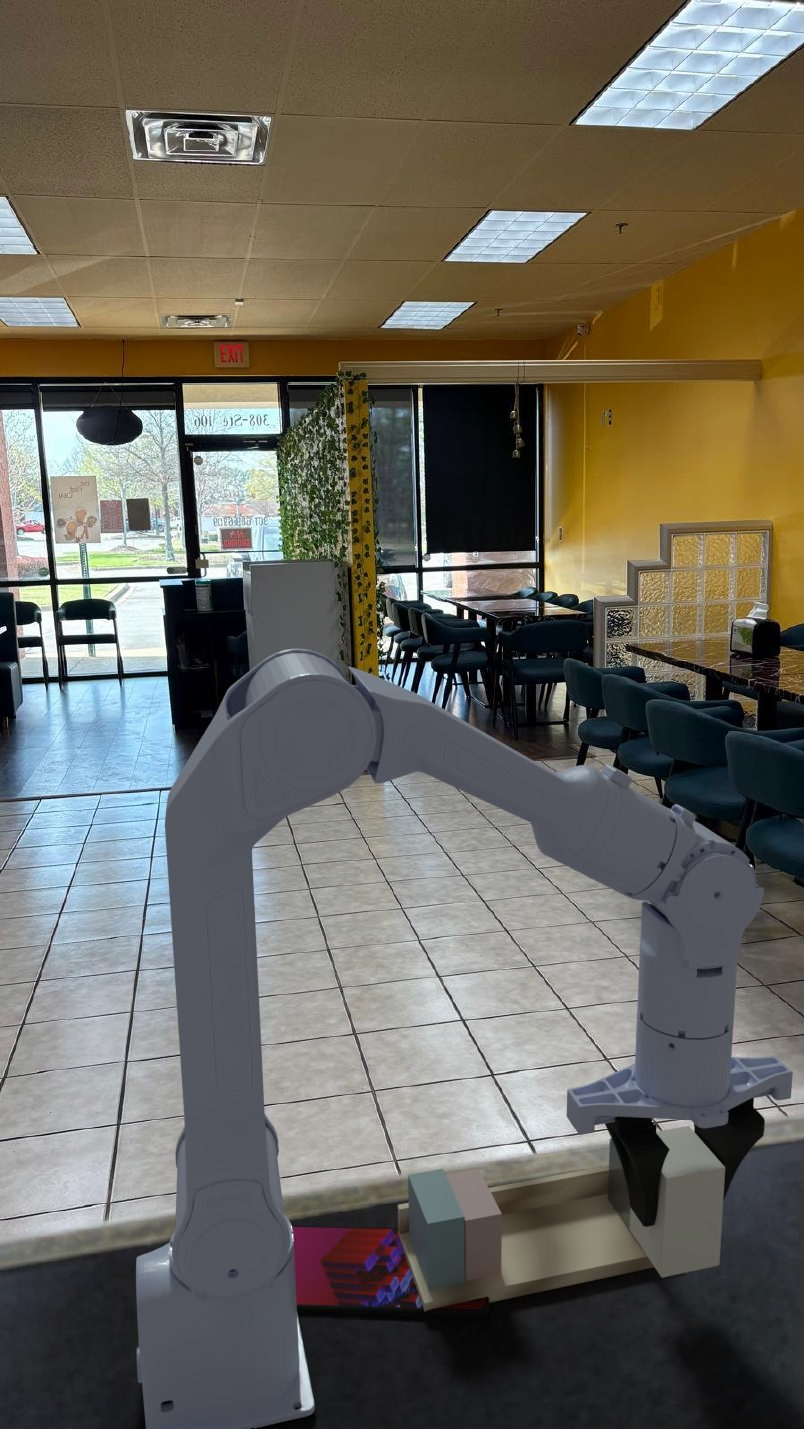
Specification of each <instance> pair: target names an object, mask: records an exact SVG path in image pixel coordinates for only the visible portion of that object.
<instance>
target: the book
mask: <svg viewBox="0 0 804 1429" xmlns="http://www.w3.org/2000/svg"><path fill="white" fill-rule="evenodd" d="M656 1133H657V1134H658V1136H659V1137H660V1138H661V1139H662V1141H663V1142H664V1143H665V1144H666V1145H667V1147H668V1148H669V1149H670V1150H669V1152H668V1154H667V1156H666V1158H665V1161H664V1164H663V1167H662V1171H661V1175H660V1180H659V1187H658V1209H657V1216H656V1221H655V1224H654V1225H653V1226H648V1227H645V1226H643V1225H642V1223H641V1222H640V1220H639V1219H638V1218H637V1216H636V1215H635V1213H634V1212H633V1210H632V1209H631V1207H630V1231H631V1232H632V1234H633V1235H634V1237H635V1238H636V1240H637V1241H638V1243H639V1244H640V1246H641V1247H642V1249H643V1250H644V1252H645V1253H646V1255H647V1256H648V1258H649V1259H650V1261H651V1262H652V1264H653V1265H654V1268H655V1270H656V1271H657V1273H658V1274H659V1276H660V1277H661V1278H666V1277H673V1276H675V1275H681V1274H686V1273H689V1272H690V1273H691V1272H694V1271H698V1270H699V1271H700V1270H704V1269H707V1268H708V1269H709V1268H713V1267H718V1266H720V1263H721V1262H720V1260H721V1243H722V1228H723V1227H722V1226H723V1212H724V1211H723V1210H724V1202H723V1196H724V1180H725V1167H724V1166H723V1164H722V1163H721V1162H720V1161H719V1160H718V1159H717V1158H716V1156H715V1155H714V1154H713V1153H712V1152H711V1151H710V1150H709V1148H708V1147H707V1146H706V1145H705V1144H704V1143H703V1142H702V1140H701V1139H700V1138H699V1137H698V1136H697V1135H696V1134H695V1131H694V1129H692V1127H691V1126H690V1125H686V1126H679V1127H675V1128H674V1127H673V1128H668V1129H662V1130H658V1131H657V1130H656Z"/></svg>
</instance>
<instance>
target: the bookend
mask: <svg viewBox="0 0 804 1429" xmlns="http://www.w3.org/2000/svg"><path fill="white" fill-rule="evenodd" d="M608 1152H609V1155H608V1156H609V1157H608V1166H609V1183H608V1200H609V1201H610V1203H611V1204H612V1206H613V1207H614V1209H615V1210H616V1212H617V1213H618V1215H619V1216H620V1218H621V1219H622V1221H623V1222H624V1224H625V1225H626V1227H627V1228H628V1230H629V1231H630V1200H629V1194H628V1188H627V1184H626V1179H625V1175H624V1172H623V1168H622V1165H621V1162H620V1159H619V1156H618V1153H617V1150H616V1148H615V1145H614V1143H613V1141H612V1138H609V1151H608ZM630 1233H631V1234H632V1232H631V1231H630ZM632 1236H633V1237H634V1235H633V1234H632ZM634 1239H635V1240H636V1238H635V1237H634ZM636 1242H637V1243H638V1241H637V1240H636ZM638 1245H639V1246H640V1244H639V1243H638Z"/></svg>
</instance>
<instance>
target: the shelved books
mask: <svg viewBox="0 0 804 1429" xmlns="http://www.w3.org/2000/svg"><path fill="white" fill-rule="evenodd" d="M407 1180H408V1181H407V1182H408V1183H407V1185H408V1186H407V1187H408V1188H407V1189H408V1192H407V1193H408V1203H409V1238H410V1241H411V1244H412V1247H413V1249H414V1252H415V1255H416V1258H417V1260H418V1263H419V1266H420V1269H421V1271H422V1274H423V1277H424V1280H425V1282H426V1285H427V1288H428V1290H432V1289H436V1288H441V1287H446V1286H451V1285H456V1284H460V1283H465V1281H469V1280H474V1279H479V1278H484V1277H488V1276H493V1275H498V1274H501V1252H502V1213H501V1211H500V1209H499V1207H498V1205H497V1203H496V1201H495V1200H494V1198H493V1196H492V1194H491V1192H490V1190H489V1188H490V1187H489V1186H488V1183H487V1182H486V1180H485V1178H484V1176H483V1174H482V1171H481V1170H480V1168H473V1169H466V1170H461V1171H455V1172H450V1173H446V1172H445V1170H444V1169H443V1168H440V1169H434V1170H429V1171H422V1172H417V1173H413V1174H412V1173H411V1174H408V1175H407Z"/></svg>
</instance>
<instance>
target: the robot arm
mask: <svg viewBox="0 0 804 1429" xmlns="http://www.w3.org/2000/svg"><path fill="white" fill-rule="evenodd" d="M347 668H348V670H349V671H350V673H351V674H352V676H353V678H354V680H355V682H356V685H355V684H354V685H353V684H350V683H349V680H348V679H347V676H346V675H345V674H344V672H343V671H342V669H341V667H339V665H337V663H335V662H334V661H333V660H332V659H330V657H328V656H327V655H324V654H322V653H320V652H317V651H315V650H311V649H306V648H291V649H290V648H289V649H283V650H281V651H277V652H274V653H273V654H271V655H269V656H267V657H265V658H264V659H263V660H262V661H260V662H259V663H258V664H257V665H256V666H254V667H253V668H252V669H250V670H249V671H247V673H246V674H244V675H243V676H241V677H240V678H239V679H238V680H237V681H236V682H234V683H233V684H231V685H230V687H228V689H227V691H226V692H225V695H224V696H223V699H222V701H221V702H220V704H219V707H218V709H217V711H216V712H215V715H214V717H213V718H212V720H211V722H210V723H209V725H208V726H207V728H206V730H205V731H204V733H203V735H202V736H201V738H200V739H199V741H198V743H197V745H196V747H195V748H194V750H193V751H192V753H191V755H190V756H189V758H188V760H187V761H186V763H185V765H184V766H183V768H182V769H181V772H179V774H178V776H177V777H176V779H175V780H174V782H173V785H172V786H171V788H170V789H169V792H168V795H167V801H166V809H165V818H164V833H165V834H164V835H165V846H166V847H165V849H166V851H165V852H166V862H167V863H166V864H167V880H168V891H169V892H168V895H169V908H170V921H171V922H170V923H171V936H172V937H171V938H172V939H171V940H172V950H173V951H172V952H173V953H172V954H173V966H174V967H173V969H174V971H173V972H174V985H175V998H176V999H175V1000H176V1012H177V1013H176V1014H177V1026H178V1027H177V1028H178V1029H177V1030H178V1042H179V1043H178V1044H179V1056H180V1057H179V1058H180V1073H181V1086H182V1087H181V1088H182V1102H183V1105H182V1106H183V1118H184V1126H183V1128H182V1131H181V1132H180V1135H179V1136H178V1137H177V1138H178V1139H177V1143H176V1147H175V1167H176V1171H177V1172H176V1194H175V1198H176V1199H175V1223H174V1225H175V1226H174V1227H175V1228H174V1232H172V1234H171V1238H170V1241H169V1242H167V1243H166V1244H165V1245H163V1246H161V1247H159V1248H156V1249H154V1250H153V1251H149V1252H147V1253H144V1254H141V1255H138V1256H137V1257H136V1259H135V1260H136V1262H135V1263H136V1266H135V1279H136V1280H135V1285H136V1286H135V1290H136V1292H135V1294H136V1296H135V1297H136V1313H137V1314H136V1315H137V1316H136V1317H137V1335H138V1336H137V1338H138V1347H137V1348H136V1372H137V1381H138V1383H139V1384H141V1383H142V1384H141V1385H142V1386H141V1387H142V1396H143V1398H142V1399H143V1407H144V1408H143V1409H144V1421H145V1429H251V1428H254V1429H257V1428H262V1427H266V1426H269V1425H275V1424H278V1423H283V1422H287V1421H292V1420H297V1419H301V1418H306V1417H308V1416H309V1417H310V1415H312V1414H313V1413H314V1412H315V1399H314V1394H313V1389H312V1384H311V1378H310V1373H309V1368H308V1362H307V1357H306V1351H305V1348H304V1342H303V1335H302V1330H301V1326H300V1321H299V1315H298V1313H297V1304H296V1282H295V1260H294V1234H293V1229H292V1223H291V1221H290V1220H289V1218H288V1216H286V1214H285V1211H284V1210H285V1209H284V1203H283V1193H282V1185H281V1184H282V1183H281V1177H280V1176H281V1175H280V1168H279V1159H278V1156H279V1153H280V1149H279V1138H278V1133H277V1131H276V1129H275V1126H274V1125H273V1124H272V1121H270V1119H269V1117H268V1116H267V1115H266V1113H265V1095H264V1094H265V1092H264V1091H265V1090H264V1076H263V1075H264V1071H263V1055H262V1054H263V1053H262V1051H263V1050H262V1029H261V1014H260V1012H261V1010H260V1009H261V1008H260V992H259V968H258V967H259V966H258V953H257V952H258V951H257V930H256V929H257V928H256V927H257V926H256V911H255V910H256V907H255V890H254V889H255V886H254V869H253V864H254V863H253V848H254V846H255V845H256V844H257V843H258V842H259V841H261V839H262V838H264V837H265V836H266V835H267V834H269V832H270V831H272V830H273V829H274V828H275V827H276V826H277V825H278V824H280V823H281V822H282V821H283V820H284V819H285V818H286V817H287V816H290V815H292V814H294V813H297V812H299V811H301V810H304V809H306V808H308V807H311V806H313V805H316V804H318V803H320V802H322V801H325V800H327V799H330V798H331V797H333V796H335V795H337V794H339V793H341V792H342V791H344V790H347V788H349V787H350V786H352V785H353V784H354V783H355V782H356V781H358V779H359V778H360V777H361V776H362V775H363V774H364V773H365V771H367V772H368V774H369V776H370V777H371V779H372V781H373V782H374V784H376V785H377V784H384V783H388V782H389V781H393V780H395V779H399V778H401V777H404V776H408V775H410V774H414V773H423V774H426V775H427V776H430V777H432V778H434V779H436V780H439V781H441V782H443V783H445V784H447V785H448V786H451V787H453V788H456V789H458V790H459V791H462V792H464V793H466V794H468V795H470V796H472V797H475V798H476V799H479V800H481V801H483V802H486V803H487V804H489V805H492V806H494V807H496V808H498V809H501V810H503V811H505V812H507V813H509V814H511V815H513V816H516V817H518V818H520V819H523V820H525V821H527V822H528V823H530V824H531V829H532V832H533V836H534V840H535V843H536V846H537V848H538V849H539V851H540V853H542V854H543V855H544V856H546V857H548V858H550V859H552V860H554V861H556V862H557V863H559V864H562V865H563V866H565V867H568V868H569V869H571V870H574V871H576V872H577V873H580V874H581V875H583V876H586V877H587V878H590V879H591V880H593V881H596V882H597V883H599V884H602V885H603V886H605V887H607V888H610V890H611V889H612V890H613V891H615V892H617V893H618V894H621V895H623V896H625V897H627V898H629V899H632V900H638V901H643V902H642V903H641V916H640V917H641V918H640V937H639V938H640V940H639V959H638V963H639V964H638V983H637V984H638V985H637V986H638V988H637V1010H636V1026H635V1028H636V1031H635V1053H634V1054H635V1056H634V1063H632V1064H631V1065H629V1066H628V1065H627V1066H626V1067H624V1068H623V1069H620V1070H618V1071H615V1072H612V1073H611V1074H608V1075H606V1076H604V1077H601V1078H600V1079H598V1080H595V1081H593V1082H591V1083H588V1084H585V1085H581V1086H578V1087H577V1086H576V1087H572V1088H568V1089H567V1090H566V1117H567V1119H568V1121H569V1122H570V1124H571V1125H572V1127H573V1128H574V1129H575V1131H576V1133H578V1135H579V1136H582V1135H588V1134H593V1133H594V1132H595V1128H596V1127H595V1126H600V1125H605V1127H606V1129H607V1131H608V1134H609V1136H610V1137H611V1138H612V1141H613V1143H614V1145H615V1148H616V1150H617V1153H618V1156H619V1159H620V1162H621V1165H622V1168H623V1172H624V1175H625V1179H626V1184H627V1188H628V1194H629V1200H630V1207H631V1209H632V1210H633V1212H634V1213H635V1215H636V1216H637V1218H638V1219H639V1220H640V1222H641V1223H642V1225H643V1226H645V1227H648V1226H653V1225H654V1224H655V1221H656V1216H657V1209H658V1187H659V1180H660V1175H661V1171H662V1167H663V1164H664V1161H665V1158H666V1156H667V1154H668V1152H669V1150H670V1149H669V1148H668V1147H667V1145H666V1144H665V1143H664V1142H663V1141H662V1139H661V1138H660V1137H659V1136H658V1134H657V1133H656V1132H657V1128H658V1127H657V1125H656V1124H657V1123H654V1122H653V1119H659V1120H660V1119H663V1120H683V1121H690V1122H692V1123H693V1128H694V1129H693V1131H694V1132H695V1134H696V1135H697V1136H698V1137H699V1138H700V1139H701V1140H702V1142H703V1143H704V1144H705V1145H706V1146H707V1147H708V1148H709V1150H710V1151H711V1152H712V1153H713V1154H714V1155H715V1156H716V1158H717V1159H718V1160H719V1161H720V1162H721V1163H722V1164H723V1166H724V1167H725V1180H724V1196H723V1203H724V1202H725V1199H726V1197H727V1194H728V1191H729V1189H730V1186H731V1183H732V1182H733V1179H734V1177H735V1175H736V1174H737V1173H736V1172H737V1171H738V1169H739V1167H740V1165H741V1164H742V1162H743V1160H745V1158H746V1156H747V1155H748V1154H749V1152H750V1151H751V1149H752V1148H753V1147H754V1146H755V1144H756V1143H757V1142H759V1141H760V1140H761V1138H763V1137H764V1135H765V1125H766V1123H765V1122H766V1120H765V1118H764V1116H763V1115H762V1114H761V1113H760V1112H759V1111H758V1110H757V1109H756V1108H755V1107H754V1103H755V1102H754V1101H755V1099H757V1098H763V1097H767V1096H770V1097H771V1098H772V1099H774V1100H775V1101H782V1100H783V1101H784V1100H790V1099H791V1098H792V1089H793V1088H792V1087H793V1077H794V1076H793V1074H794V1072H793V1071H792V1070H791V1069H790V1068H789V1067H788V1066H787V1065H786V1064H784V1063H783V1062H782V1061H781V1060H780V1059H779V1058H777V1056H775V1055H772V1056H762V1057H761V1056H760V1057H743V1056H742V1057H741V1056H739V1057H738V1056H733V1054H732V1053H733V1052H732V1051H733V1039H734V1038H733V1036H734V1022H735V1006H736V993H737V992H736V990H737V974H738V959H739V957H738V956H741V948H742V937H743V935H744V932H745V931H746V928H748V926H749V925H750V923H751V922H752V921H753V920H754V918H755V917H756V915H757V914H758V911H759V909H760V908H761V905H762V902H763V899H764V891H765V888H763V887H760V885H759V884H758V883H757V875H756V871H755V868H754V866H753V865H752V864H750V861H751V859H750V858H749V857H748V856H747V854H745V853H744V852H743V851H742V850H741V849H740V848H738V847H737V846H735V845H733V844H731V843H730V842H729V841H728V840H726V839H724V838H722V836H719V835H718V834H716V833H715V832H713V831H712V830H710V829H709V828H707V827H706V826H704V825H703V824H701V823H699V822H698V821H696V815H695V813H694V812H691V811H690V810H688V809H687V808H685V807H683V806H681V805H679V804H676V803H675V804H674V805H672V806H671V808H669V807H666V806H665V805H663V804H661V803H659V802H657V801H656V800H653V799H652V798H650V797H649V796H647V795H645V794H643V793H642V792H639V791H637V790H635V789H634V788H632V787H630V786H631V784H632V782H633V778H632V777H631V776H629V775H628V774H627V773H625V772H624V771H622V770H620V769H618V768H617V767H614V766H613V765H610V764H605V765H604V767H603V768H602V770H601V771H600V770H599V769H597V768H595V767H593V766H591V765H588V764H582V765H576V766H573V767H568V768H566V769H562V770H558V771H551V770H550V769H548V768H546V767H545V766H543V765H541V764H540V763H538V762H536V761H535V760H533V759H531V758H529V757H528V756H526V755H524V754H522V753H520V752H519V751H517V750H515V749H513V748H512V747H510V746H508V745H507V744H505V743H503V742H501V741H500V740H498V739H496V738H495V737H493V736H491V735H489V734H488V733H486V732H485V731H482V730H481V729H479V728H477V727H476V726H474V725H472V724H470V723H468V722H467V721H465V720H463V719H462V718H460V717H459V716H456V715H455V714H453V713H451V712H450V711H447V710H446V709H444V708H443V707H441V706H439V705H437V704H435V703H434V702H432V701H430V700H428V699H427V698H425V697H423V696H422V695H419V694H418V693H416V692H413V691H412V690H409V689H407V688H404V687H402V686H400V685H397V684H395V683H393V682H391V681H388V680H386V679H384V678H381V677H379V676H377V675H374V674H373V673H369V672H367V671H364V670H361V669H358V668H355V667H352V666H348V667H347ZM611 1138H610V1139H611ZM296 1408H298V1409H296Z"/></svg>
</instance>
